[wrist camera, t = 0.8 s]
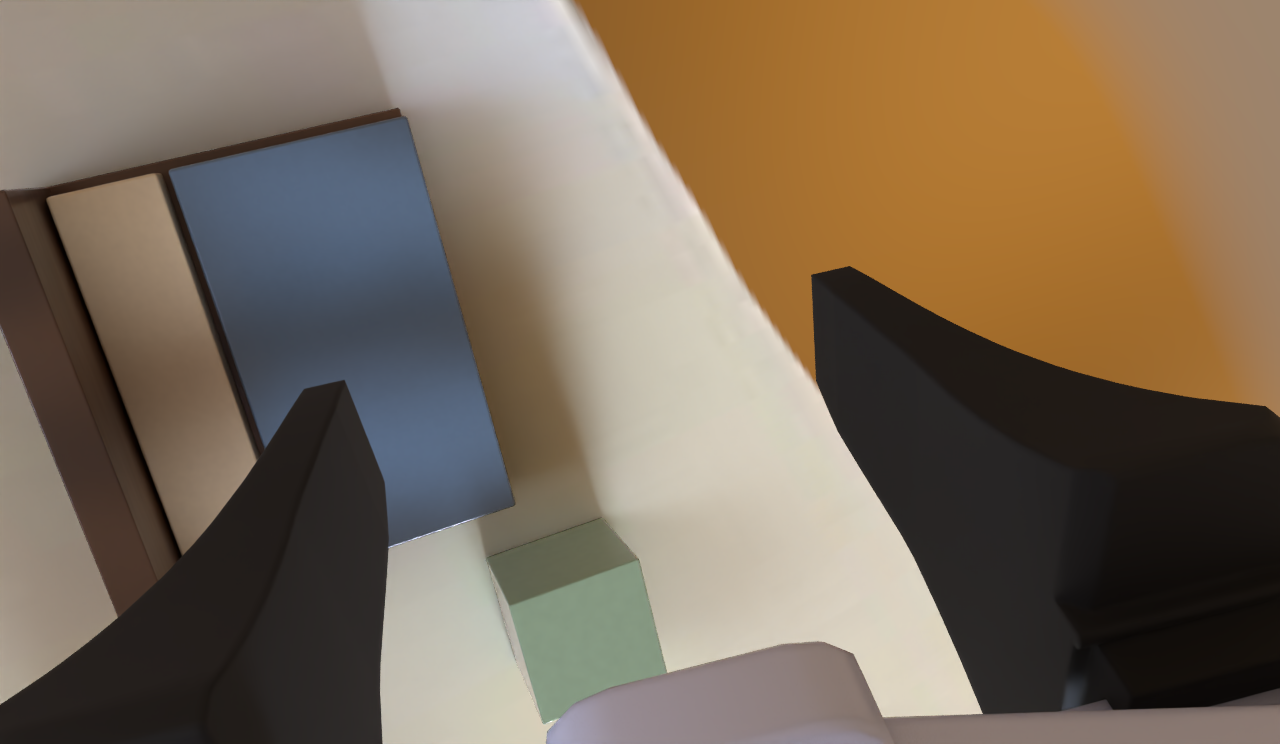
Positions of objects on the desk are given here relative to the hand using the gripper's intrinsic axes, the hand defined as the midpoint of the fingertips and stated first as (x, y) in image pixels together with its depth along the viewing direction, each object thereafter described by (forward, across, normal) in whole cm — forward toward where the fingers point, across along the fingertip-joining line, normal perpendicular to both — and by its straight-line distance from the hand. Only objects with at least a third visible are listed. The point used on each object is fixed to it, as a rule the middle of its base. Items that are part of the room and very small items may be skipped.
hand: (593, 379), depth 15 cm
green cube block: (+13, +2, +18) cm, 23 cm away
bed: (+16, +9, +8) cm, 20 cm away
